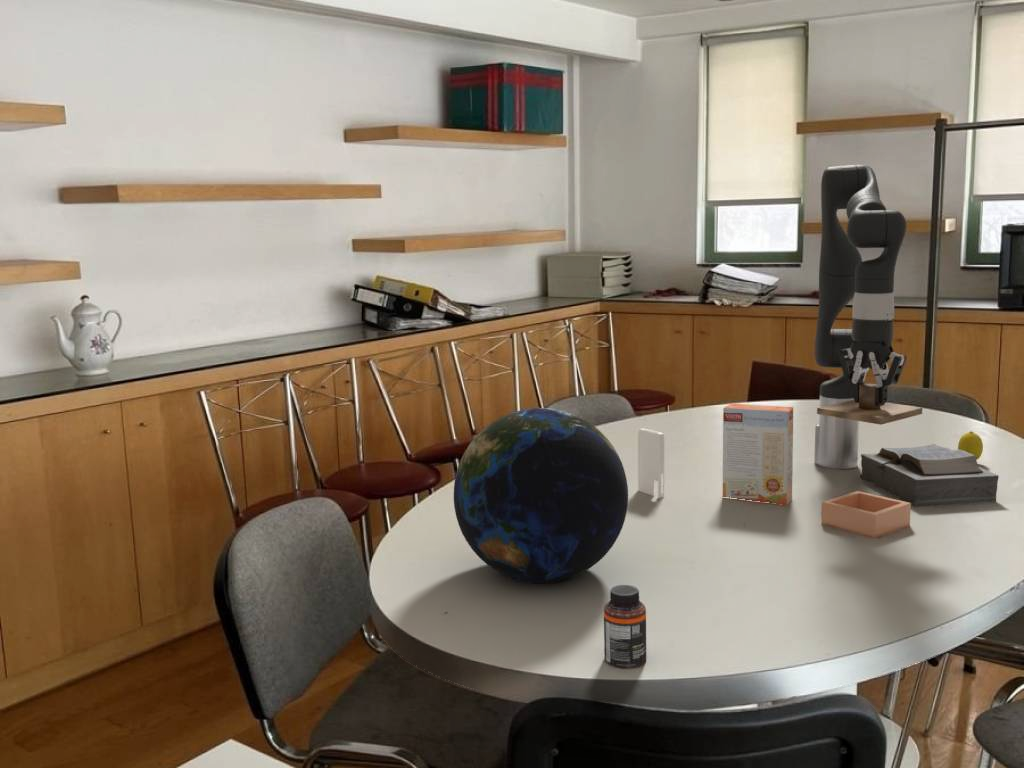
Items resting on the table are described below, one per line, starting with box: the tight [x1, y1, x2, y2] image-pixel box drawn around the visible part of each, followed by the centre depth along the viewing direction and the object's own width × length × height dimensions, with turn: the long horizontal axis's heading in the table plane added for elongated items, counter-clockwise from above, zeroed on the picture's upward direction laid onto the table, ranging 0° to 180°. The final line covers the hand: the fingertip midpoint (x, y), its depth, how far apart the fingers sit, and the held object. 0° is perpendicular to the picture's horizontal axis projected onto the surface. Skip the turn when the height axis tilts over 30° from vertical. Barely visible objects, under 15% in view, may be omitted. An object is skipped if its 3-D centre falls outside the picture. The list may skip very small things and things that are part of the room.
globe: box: [453, 407, 629, 584], centre depth 182 cm, size 30×30×30 cm
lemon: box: [957, 430, 984, 461], centre depth 255 cm, size 6×6×8 cm
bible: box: [859, 443, 1000, 508], centre depth 232 cm, size 23×27×10 cm
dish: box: [821, 490, 912, 540], centre depth 208 cm, size 12×12×5 cm
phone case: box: [637, 428, 665, 499], centre depth 231 cm, size 7×1×15 cm, turn 33°
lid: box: [816, 383, 923, 425], centre depth 204 cm, size 14×14×6 cm
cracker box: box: [722, 403, 794, 506], centre depth 226 cm, size 14×6×21 cm, turn 64°
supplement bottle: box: [603, 584, 647, 670], centre depth 148 cm, size 6×6×11 cm
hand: (869, 403), depth 204 cm, fingers closed on lid, 4 cm apart
